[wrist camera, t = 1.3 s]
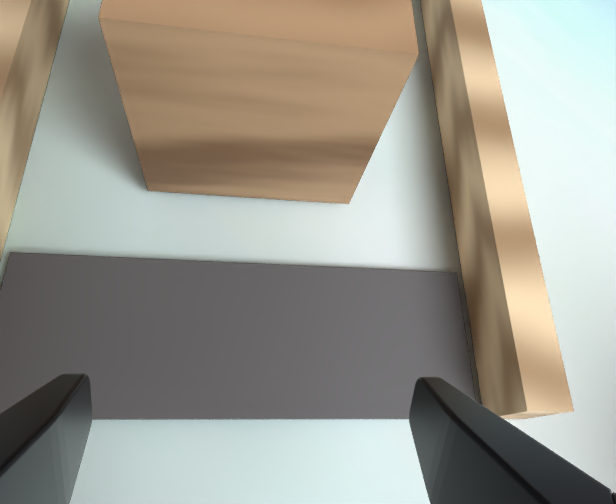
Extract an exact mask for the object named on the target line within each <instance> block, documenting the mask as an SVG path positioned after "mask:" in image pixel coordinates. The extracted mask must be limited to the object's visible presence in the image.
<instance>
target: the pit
mask: <svg viewBox="0 0 616 504" xmlns="http://www.w3.org/2000/svg"><path fill="white" fill-rule="evenodd" d="M63 373H86V374H87V375H88V376H89V379H90V387H91V400H92V419H409V411H410V406H411V402H412V397H413V392H414V388H415V383H416V381H417V379H418V378H420V377H440V378H442V379H443V380H445V381H446V382H448V383H450V384H451V385H453V386H454V387H456V388H457V389H459V390H460V391H462V392H463V393H465V394H466V395H468V396H469V397H471V398H472V399H474V400H475V393H474V386H473V379H472V373H471V366H470V359H469V352H468V346H467V339H466V332H465V325H464V319H463V312H462V305H461V298H460V292H459V285H458V278H457V273H452V272H430V271H408V270H386V269H365V268H343V267H321V266H299V265H277V264H255V263H233V262H212V261H190V260H168V259H146V258H124V257H102V256H81V255H59V254H37V253H15V252H10V255H9V259H8V263H7V267H6V271H5V275H4V279H3V283H2V286H1V290H0V413H1V412H3V411H4V410H6V409H7V408H9V407H10V406H12V405H14V404H15V403H17V402H18V401H20V400H21V399H23V398H24V397H26V396H28V395H29V394H31V393H32V392H34V391H35V390H37V389H38V388H40V387H42V386H43V385H45V384H46V383H48V382H49V381H51V380H52V379H54V378H55V377H57V376H59V375H60V374H63ZM475 401H476V400H475Z"/></svg>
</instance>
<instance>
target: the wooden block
mask: <svg viewBox="0 0 616 504" xmlns="http://www.w3.org/2000/svg"><path fill="white" fill-rule="evenodd" d="M98 18H99V22H100V25H101V29H102V32H103V36H104V39H105V43H106V46H107V50H108V53H109V57H110V60H111V64H112V67H113V71H114V74H115V78H116V81H117V84H118V88H119V91H120V95H121V98H122V102H123V105H124V109H125V112H126V116H127V119H128V123H129V126H130V130H131V133H132V137H133V140H134V144H135V147H136V151H137V154H138V158H139V161H140V165H141V168H142V172H143V175H144V179H145V182H146V186H147V189H148V191H160V192H175V193H190V194H206V195H221V196H236V197H251V198H266V199H282V200H297V201H312V202H327V203H343V204H349V202H350V200H351V198H352V196H353V194H354V192H355V190H356V188H357V185H358V183H359V181H360V179H361V177H362V175H363V173H364V171H365V168H366V166H367V164H368V162H369V160H370V158H371V156H372V153H373V151H374V149H375V147H376V145H377V143H378V141H379V139H380V136H381V134H382V132H383V130H384V128H385V126H386V124H387V122H388V119H389V117H390V115H391V113H392V111H393V109H394V107H395V104H396V102H397V100H398V98H399V96H400V94H401V92H402V90H403V87H404V85H405V83H406V81H407V79H408V77H409V75H410V73H411V70H412V68H413V66H414V64H415V62H416V60H417V58H418V56H419V51H418V44H417V37H416V30H415V23H414V16H413V9H412V2H411V0H102V4H101V8H100V12H99V17H98Z"/></svg>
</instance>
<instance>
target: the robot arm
mask: <svg viewBox="0 0 616 504" xmlns="http://www.w3.org/2000/svg"><path fill="white" fill-rule="evenodd" d="M409 422H410V427H411V431H412V435H413V439H414V443H415V447H416V451H417V455H418V459H419V462H420V466H421V470H422V474H423V478H424V482H425V486H426V490H427V493H428V497H429V500H430V503H431V504H616V493H612V492H611V490H610V489H609V488H608V487H606V486H605V485H603V484H602V483H600V482H598V481H597V480H595V479H594V478H592V477H591V476H589V475H588V474H586V473H585V472H583V471H582V470H580V469H579V468H577V467H576V466H574V465H573V464H571V463H570V462H568V461H567V460H565V459H564V458H562V457H560V456H559V455H557V454H556V453H554V452H553V451H551V450H550V449H548V448H547V447H545V446H544V445H542V444H541V443H539V442H538V441H536V440H535V439H533V438H532V437H530V436H529V435H527V434H526V433H524V432H522V431H521V430H519V429H518V428H516V427H515V426H513V425H512V424H510V423H509V422H507V421H506V420H504V419H503V418H501V417H500V416H498V415H497V414H495V413H494V412H492V411H491V410H489V409H488V408H486V407H484V406H483V405H481V404H480V403H478V402H477V401H475V400H474V399H472V398H471V397H469V396H468V395H466V394H465V393H463V392H462V391H460V390H459V389H457V388H456V387H454V386H453V385H451V384H450V383H448V382H446V381H445V380H443V379H442V378H440V377H420V378H418V379H417V381H416V383H415V388H414V392H413V397H412V402H411V406H410V411H409ZM91 423H92V400H91V387H90V379H89V376H88V375H87V374H86V373H63V374H60V375H59V376H57V377H55V378H54V379H52V380H51V381H49V382H48V383H46V384H45V385H43V386H42V387H40V388H38V389H37V390H35V391H34V392H32V393H31V394H29V395H28V396H26V397H24V398H23V399H21V400H20V401H18V402H17V403H15V404H14V405H12V406H10V407H9V408H7V409H6V410H4V411H3V412H1V413H0V504H69V502H70V499H71V496H72V492H73V488H74V485H75V481H76V478H77V474H78V471H79V467H80V463H81V460H82V456H83V453H84V449H85V445H86V442H87V438H88V435H89V431H90V427H91Z"/></svg>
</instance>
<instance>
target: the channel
mask: <svg viewBox="0 0 616 504" xmlns="http://www.w3.org/2000/svg"><path fill="white" fill-rule="evenodd" d="M420 2H421V9H422V15H423V22H424V28H425V35H426V41H427V48H428V54H429V61H430V67H431V74H432V80H433V87H434V94H435V100H436V107H437V113H438V120H439V126H440V133H441V139H442V146H443V152H444V159H445V165H446V172H447V179H448V185H449V192H450V198H451V205H452V211H453V218H454V224H455V231H456V237H457V244H458V250H459V257H460V263H461V270H462V277H463V283H464V290H465V296H466V303H467V309H468V316H469V322H470V329H471V335H472V342H473V348H474V355H475V362H476V368H477V375H478V381H479V388H480V394H481V401H482V405H483V406H484V407H486V408H488V409H489V410H491V411H492V412H494V413H495V414H497V415H498V416H500V417H501V418H503V419H526V418H533V417H539V416H546V415H552V414H559V413H565V412H572V411H574V409H573V405H572V401H571V396H570V392H569V387H568V383H567V378H566V374H565V370H564V365H563V361H562V356H561V352H560V347H559V343H558V339H557V334H556V330H555V325H554V321H553V316H552V312H551V308H550V303H549V299H548V294H547V290H546V285H545V281H544V277H543V272H542V268H541V263H540V259H539V254H538V250H537V245H536V241H535V237H534V232H533V228H532V223H531V219H530V214H529V210H528V206H527V201H526V197H525V192H524V188H523V183H522V179H521V175H520V170H519V166H518V161H517V157H516V152H515V148H514V144H513V139H512V135H511V130H510V126H509V121H508V117H507V112H506V108H505V104H504V99H503V95H502V90H501V86H500V81H499V77H498V73H497V68H496V64H495V59H494V55H493V50H492V46H491V42H490V37H489V33H488V28H487V24H486V19H485V15H484V11H483V6H482V2H481V0H420ZM68 4H69V0H0V260H1V257H2V253H3V249H4V245H5V241H6V238H7V234H8V230H9V226H10V223H11V219H12V215H13V211H14V207H15V204H16V200H17V196H18V192H19V189H20V185H21V181H22V177H23V174H24V170H25V166H26V162H27V158H28V155H29V151H30V147H31V143H32V140H33V136H34V132H35V128H36V124H37V121H38V117H39V113H40V109H41V106H42V102H43V98H44V94H45V90H46V87H47V83H48V79H49V75H50V72H51V68H52V64H53V60H54V56H55V53H56V49H57V45H58V41H59V38H60V34H61V30H62V26H63V22H64V19H65V15H66V11H67V7H68Z"/></svg>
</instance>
